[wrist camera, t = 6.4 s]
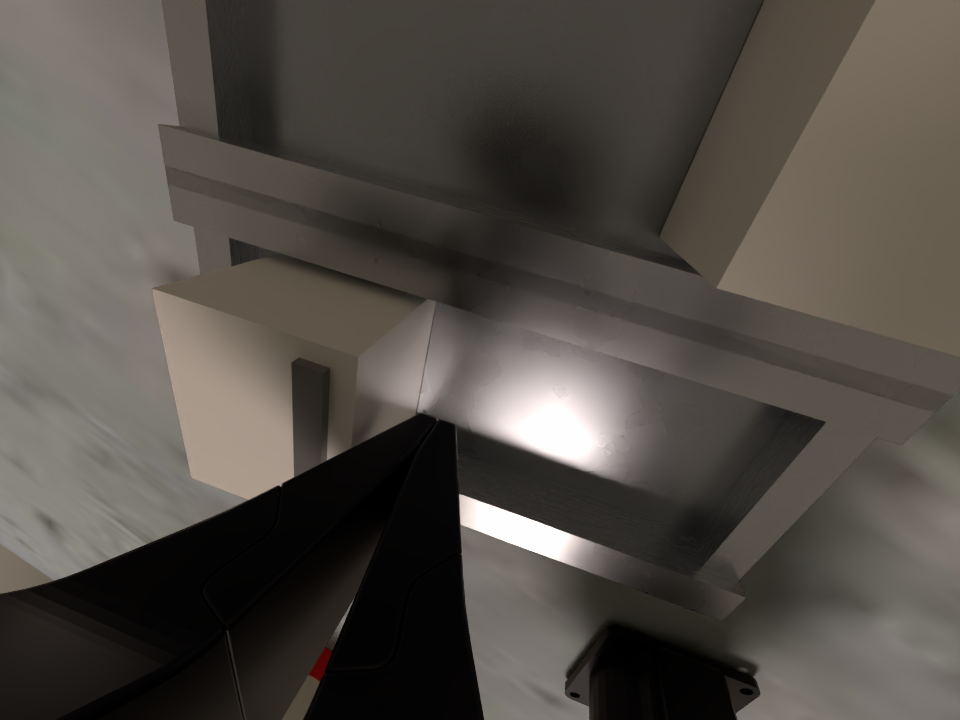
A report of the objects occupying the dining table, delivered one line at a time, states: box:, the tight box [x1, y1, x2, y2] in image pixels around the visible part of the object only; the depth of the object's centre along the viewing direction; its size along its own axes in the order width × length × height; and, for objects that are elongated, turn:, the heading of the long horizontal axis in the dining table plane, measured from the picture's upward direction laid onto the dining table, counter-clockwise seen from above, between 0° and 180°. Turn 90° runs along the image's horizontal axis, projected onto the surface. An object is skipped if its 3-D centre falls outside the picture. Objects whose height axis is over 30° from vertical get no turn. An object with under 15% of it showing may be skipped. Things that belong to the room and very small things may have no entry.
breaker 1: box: [152, 253, 436, 500], centre depth 9 cm, size 5×4×4 cm
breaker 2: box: [659, 0, 960, 357], centre depth 5 cm, size 5×4×4 cm
